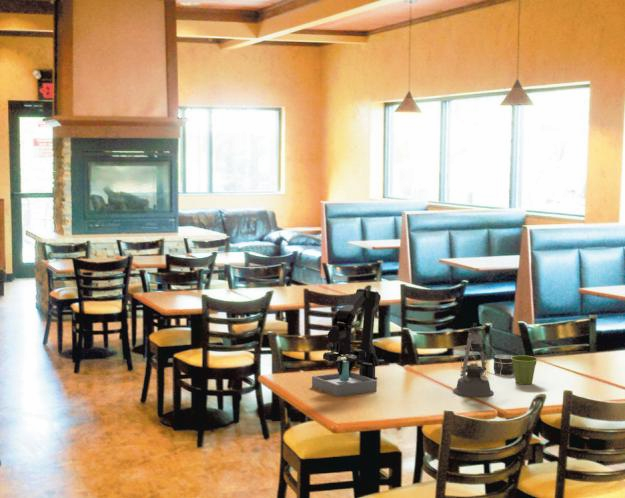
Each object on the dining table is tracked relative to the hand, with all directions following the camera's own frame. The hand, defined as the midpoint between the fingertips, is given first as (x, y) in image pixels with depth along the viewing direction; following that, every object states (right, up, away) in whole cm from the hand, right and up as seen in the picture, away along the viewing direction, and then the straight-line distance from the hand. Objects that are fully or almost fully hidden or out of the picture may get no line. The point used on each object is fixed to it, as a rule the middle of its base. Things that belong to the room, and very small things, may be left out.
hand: (344, 374), depth 419 cm
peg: (0, -2, 0) cm, 2 cm away
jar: (+76, -4, +36) cm, 84 cm away
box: (0, -6, +1) cm, 6 cm away
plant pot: (+80, -6, +15) cm, 82 cm away
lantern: (+56, -8, -5) cm, 57 cm away
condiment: (+7, -2, +47) cm, 47 cm away
